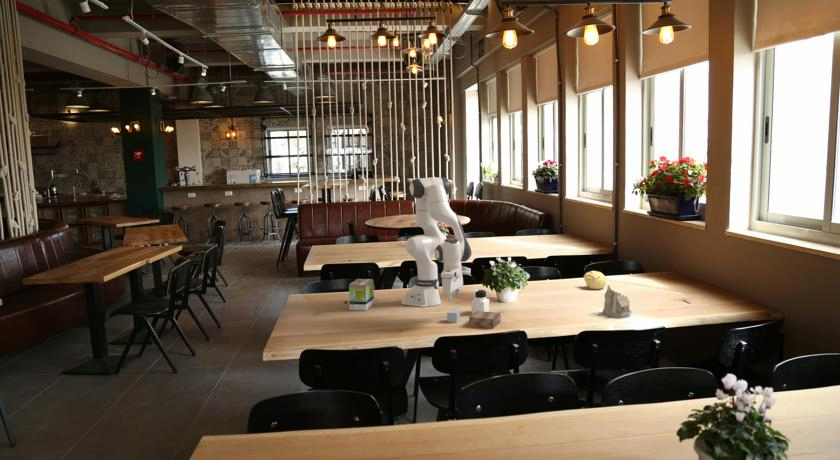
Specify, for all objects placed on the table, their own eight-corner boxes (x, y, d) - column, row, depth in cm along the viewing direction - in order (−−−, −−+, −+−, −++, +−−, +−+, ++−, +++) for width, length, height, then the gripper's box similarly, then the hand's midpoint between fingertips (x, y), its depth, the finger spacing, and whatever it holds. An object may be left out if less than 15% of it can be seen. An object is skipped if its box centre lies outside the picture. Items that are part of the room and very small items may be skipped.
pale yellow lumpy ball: (581, 287, 370) (581, 270, 369) (596, 285, 375) (596, 268, 374) (593, 291, 360) (594, 273, 359) (609, 289, 365) (609, 271, 364)
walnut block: (469, 327, 295) (469, 317, 295) (477, 320, 306) (477, 310, 306) (493, 329, 290) (493, 319, 290) (500, 322, 301) (500, 312, 301)
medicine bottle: (489, 312, 321) (489, 289, 319) (483, 315, 315) (483, 292, 313) (477, 310, 324) (476, 288, 323) (471, 313, 318) (471, 291, 317)
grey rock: (615, 318, 301) (616, 288, 300) (597, 312, 317) (598, 283, 316) (642, 317, 305) (644, 288, 304) (623, 311, 321) (624, 282, 320)
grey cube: (447, 322, 304) (447, 312, 303) (450, 319, 309) (450, 310, 308) (456, 323, 302) (456, 313, 301) (460, 320, 307) (459, 310, 306)
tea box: (367, 311, 330) (365, 284, 328) (349, 310, 332) (348, 283, 330) (374, 304, 344) (373, 278, 342) (357, 303, 346) (356, 278, 344)
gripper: (453, 267, 313) (454, 294, 314) (439, 274, 294) (440, 302, 295) (465, 267, 310) (466, 294, 312) (451, 275, 291) (452, 303, 293)
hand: (453, 298), depth 303 cm, fingers open, 8 cm apart
